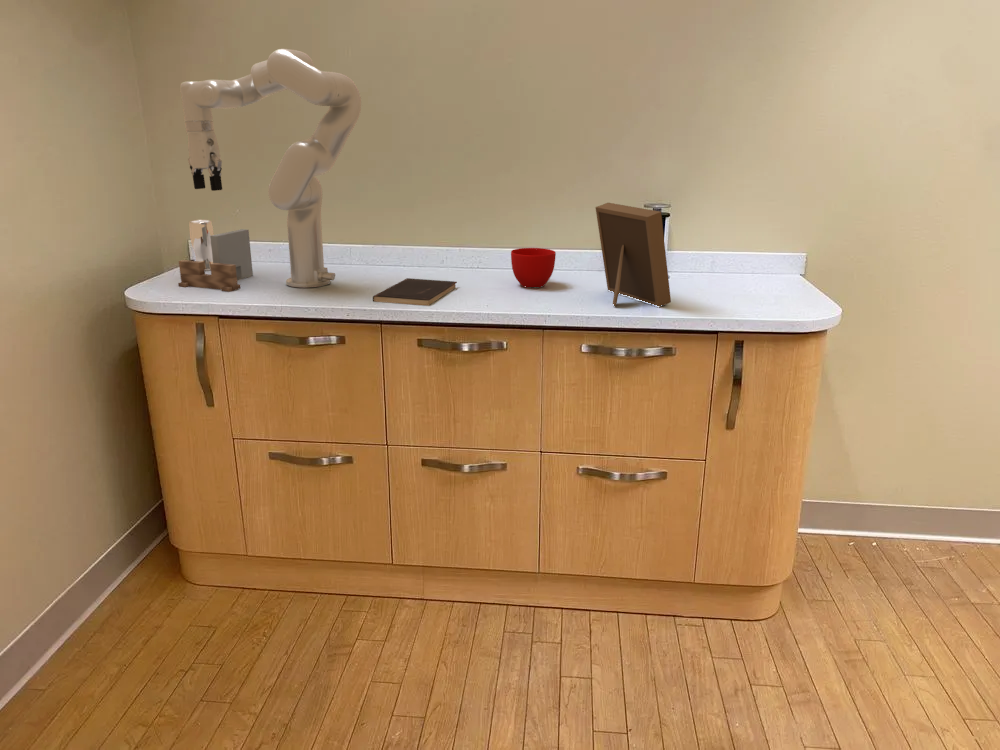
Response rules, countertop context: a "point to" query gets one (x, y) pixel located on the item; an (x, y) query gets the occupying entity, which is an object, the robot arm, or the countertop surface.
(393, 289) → the hardcover book
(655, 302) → the photo frame
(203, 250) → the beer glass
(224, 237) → the gray square panel
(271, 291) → the countertop surface
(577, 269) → the countertop surface
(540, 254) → the ceramic cup
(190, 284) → the walnut slotted plate
